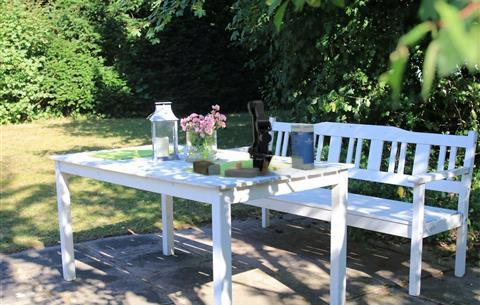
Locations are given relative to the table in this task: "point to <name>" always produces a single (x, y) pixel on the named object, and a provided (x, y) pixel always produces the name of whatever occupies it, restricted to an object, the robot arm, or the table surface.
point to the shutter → (238, 166)
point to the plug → (265, 168)
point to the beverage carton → (206, 168)
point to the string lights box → (302, 146)
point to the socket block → (243, 173)
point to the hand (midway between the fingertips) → (263, 170)
